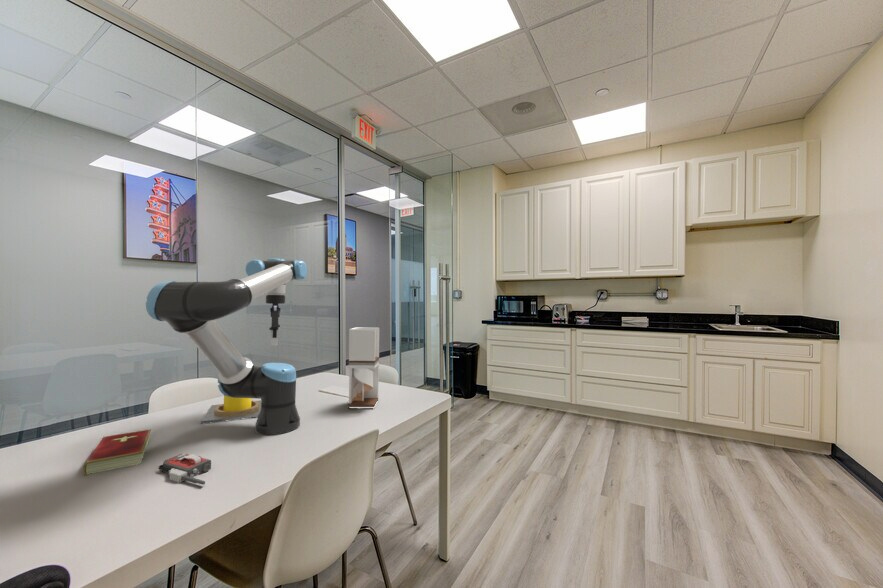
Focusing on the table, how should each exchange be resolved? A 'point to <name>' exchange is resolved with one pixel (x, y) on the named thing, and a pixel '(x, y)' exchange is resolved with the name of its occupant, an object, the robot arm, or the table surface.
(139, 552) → the table surface
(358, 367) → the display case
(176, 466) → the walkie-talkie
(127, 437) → the hardcover book
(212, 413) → the ring collar plate
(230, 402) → the tape roll
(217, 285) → the robot arm
